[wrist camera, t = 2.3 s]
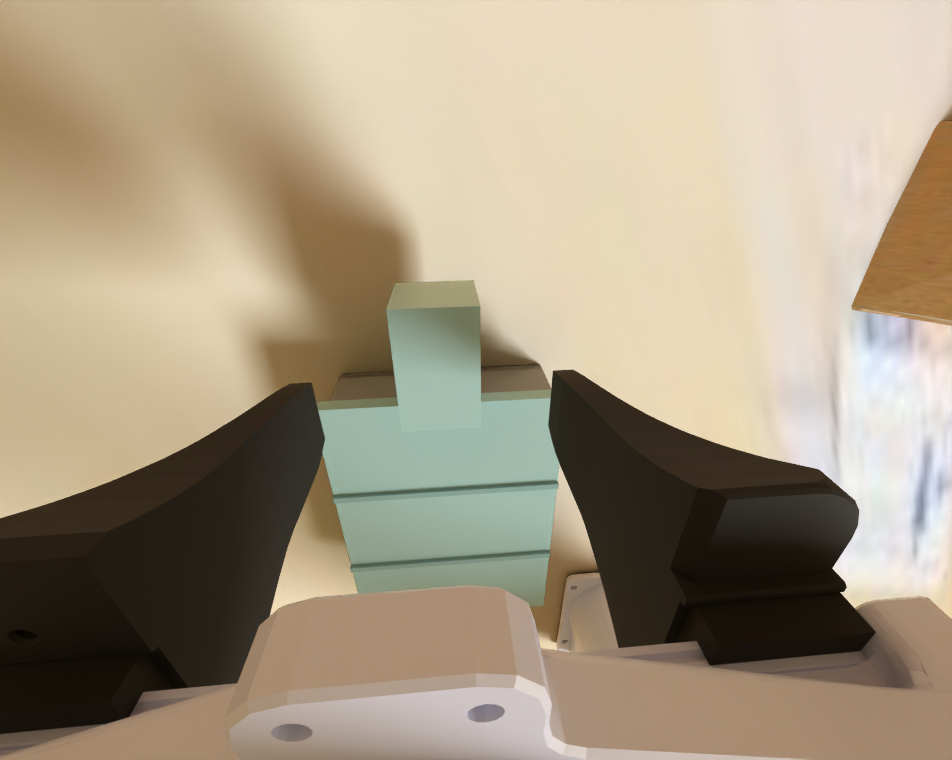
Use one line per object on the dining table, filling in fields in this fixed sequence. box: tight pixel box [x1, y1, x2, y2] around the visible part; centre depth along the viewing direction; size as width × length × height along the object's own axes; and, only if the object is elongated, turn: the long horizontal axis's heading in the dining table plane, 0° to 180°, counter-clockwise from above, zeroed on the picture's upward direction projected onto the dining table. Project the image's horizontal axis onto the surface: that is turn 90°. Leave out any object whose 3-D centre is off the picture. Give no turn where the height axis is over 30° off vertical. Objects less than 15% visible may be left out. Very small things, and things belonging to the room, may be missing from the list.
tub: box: [329, 364, 551, 401], centre depth 23 cm, size 14×10×3 cm
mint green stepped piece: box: [316, 280, 559, 607], centre depth 19 cm, size 20×11×3 cm, turn 1°
